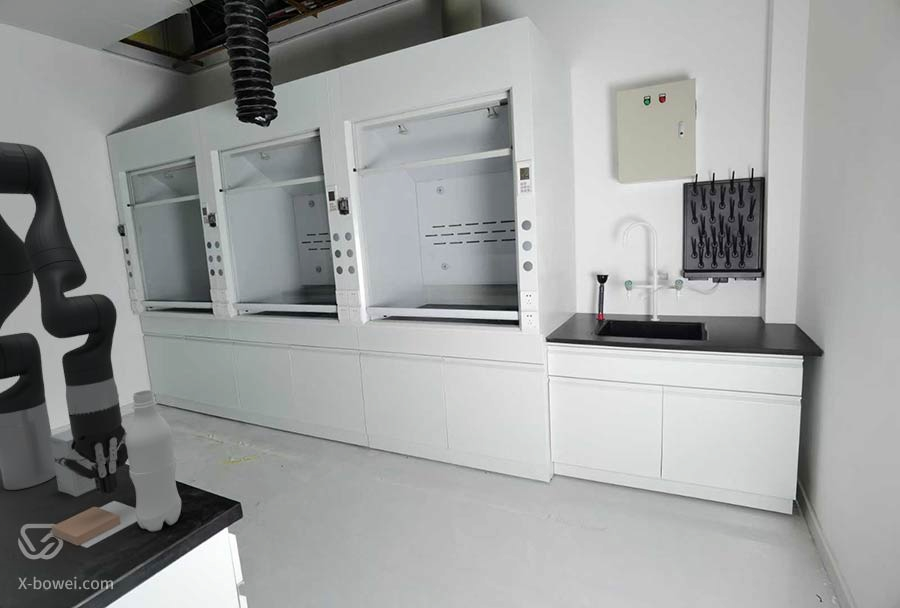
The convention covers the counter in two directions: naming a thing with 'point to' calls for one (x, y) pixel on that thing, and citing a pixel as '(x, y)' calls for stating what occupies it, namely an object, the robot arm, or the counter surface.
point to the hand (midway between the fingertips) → (107, 493)
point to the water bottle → (152, 465)
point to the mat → (126, 519)
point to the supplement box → (65, 476)
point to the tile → (85, 525)
